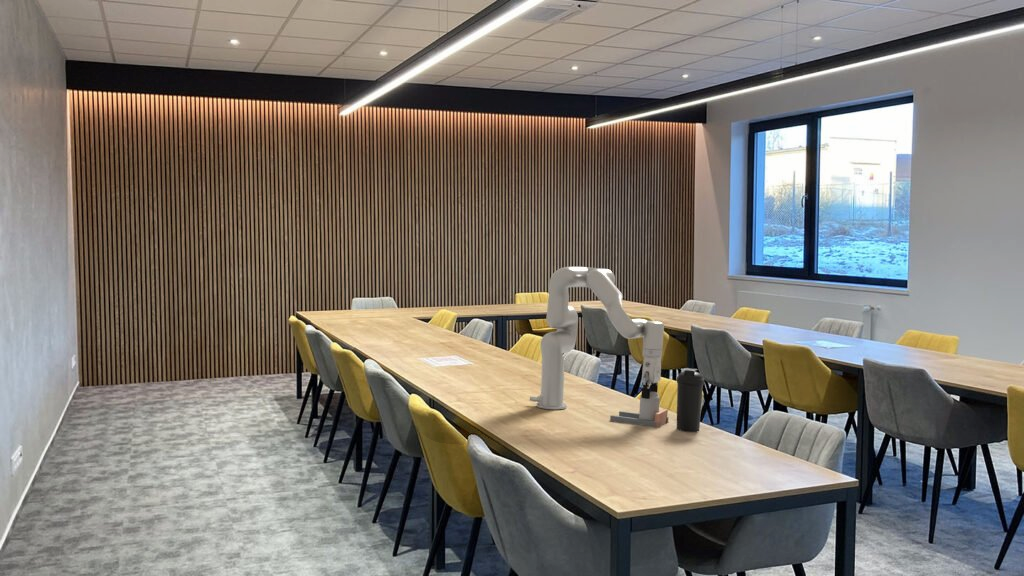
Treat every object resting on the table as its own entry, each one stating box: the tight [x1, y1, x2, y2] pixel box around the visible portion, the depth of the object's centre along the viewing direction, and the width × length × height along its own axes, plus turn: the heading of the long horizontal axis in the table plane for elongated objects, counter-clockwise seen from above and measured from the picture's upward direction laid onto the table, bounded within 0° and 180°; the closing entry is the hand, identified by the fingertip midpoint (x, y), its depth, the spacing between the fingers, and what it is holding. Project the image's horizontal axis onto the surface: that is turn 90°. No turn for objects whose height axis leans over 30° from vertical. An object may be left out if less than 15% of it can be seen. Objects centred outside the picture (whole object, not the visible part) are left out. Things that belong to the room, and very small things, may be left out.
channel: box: [609, 408, 670, 428], centre depth 335 cm, size 20×11×5 cm, turn 63°
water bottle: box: [676, 367, 705, 433], centre depth 324 cm, size 10×10×23 cm
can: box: [638, 392, 661, 421], centre depth 334 cm, size 8×8×12 cm
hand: (649, 396), depth 334 cm, fingers open, 9 cm apart
